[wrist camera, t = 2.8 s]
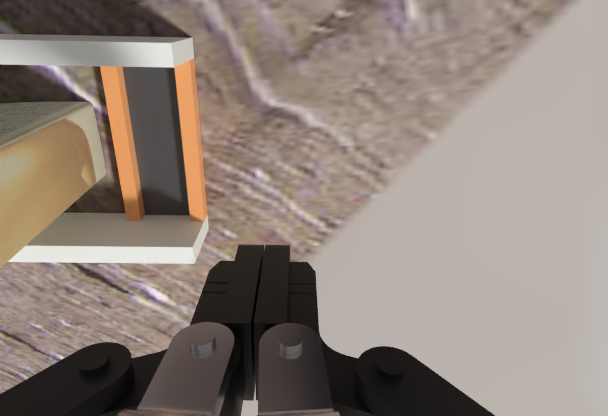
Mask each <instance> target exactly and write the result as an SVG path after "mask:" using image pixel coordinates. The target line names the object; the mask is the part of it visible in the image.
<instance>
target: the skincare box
mask: <svg viewBox="0 0 608 416" xmlns="http://www.w3.org/2000/svg"><path fill="white" fill-rule="evenodd" d="M105 175H106V168H105V163H104V157H103V151H102V146H101V141H100V136H99V131H98V127H97V122H96V118H95V113H94V109H93V106H92V104H91V103H89V102H16V103H0V268H1V267H2V266H3V265H4V264H6V263H7V262H8V261H9V260H10V259H11V258H12V257H14V256H15V255H16V254H17V253H18V252H19V251H20V250H21V249H22V248H23V247H25V246H26V245H27V244H28V243H29V242H30V241H31V240H32V239H34V238H35V237H36V236H37V235H38V234H39V233H40V232H42V231H43V230H44V229H45V228H46V227H47V226H48V225H50V224H51V223H52V222H53V221H54V220H55V219H56V218H57V217H58V216H60V215H61V214H62V213H63V212H64V211H65V210H66V209H68V208H69V207H70V206H71V205H72V204H73V203H74V202H75V201H76V200H78V199H79V198H80V197H81V196H82V195H83V194H84V193H86V192H87V191H88V190H89V189H90V188H91V187H92V186H93V185H95V184H96V183H97V182H98V181H99V180H100V179H101V178H103V177H104V176H105Z"/></svg>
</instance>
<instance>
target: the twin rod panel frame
mask: <svg viewBox="0 0 608 416" xmlns="http://www.w3.org/2000/svg"><path fill="white" fill-rule="evenodd" d="M0 64H2V65H58V66H100V69H101V75H102V80H103V86H104V92H105V98H106V103H107V109H108V115H109V121H110V126H111V132H112V138H113V144H114V149H115V155H116V161H117V166H118V172H119V178H120V184H121V189H122V195H123V201H124V207H125V212H126V213H62V214H61V215H60V216H58V217H57V218H56V219H55V220H54V221H53V222H52V223H51V224H50V225H48V226H47V227H46V228H45V229H44V230H43V231H42V232H40V233H39V234H38V235H37V236H36V237H35V238H34V239H32V240H31V241H30V242H29V243H28V244H27V245H26V246H25V247H23V248H22V249H21V250H20V251H19V252H18V253H17V254H16V255H15V256H14V257H12V258H11V259H10V260H9V261H8V262H76V263H187V264H194V263H195V261H196V258H197V256H198V254H199V251H200V249H201V246H202V244H203V241H204V239H205V236H206V234H207V232H208V229H209V227H208V215H207V203H206V191H205V180H204V168H203V156H202V144H201V133H200V121H199V109H198V97H197V86H196V74H195V62H194V50H193V38H191V37H140V36H88V35H36V34H0Z"/></svg>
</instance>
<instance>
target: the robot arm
mask: <svg viewBox="0 0 608 416" xmlns="http://www.w3.org/2000/svg"><path fill="white" fill-rule="evenodd" d="M255 383H256V400H258V416H495V415H493V414H492V413H491V412H489V411H488V410H486V409H485V408H484V407H482V406H481V405H479V404H478V403H477V402H475V401H474V400H473V399H471V398H470V397H468V396H467V395H466V394H464V393H463V392H461V391H460V390H459V389H457V388H456V387H454V386H453V385H452V384H450V383H449V382H447V381H446V380H445V379H443V378H442V377H441V376H439V375H438V374H436V373H435V372H434V371H432V370H431V369H430V368H428V367H427V366H425V365H424V364H423V363H421V362H420V361H418V360H417V359H416V358H414V357H413V356H411V355H410V354H408V353H407V352H405V351H403V350H400V349H397V348H393V347H385V346H383V347H375V348H371V349H369V350H367V351H365V352H364V353H362V354H361V356H360V357H359V358H354V357H350V356H346V355H343V354H340V353H338V352H336V351H334V350H332V349H331V348H330V347H328V346H327V345H326V344H325V343H324V342H323V340H322V339H321V337H320V334H319V326H318V308H317V291H316V275H315V271H314V270H313V268H312V267H311V266H310V265H309V263H308V262H290V245H266V246H265V251H264V245H239V246H238V249H237V253H236V257H235V261H220V262H219V263H217V264H216V265H215V266H214V267H213V268H212V269H211V270H210V271H209V273H208V276H207V279H206V282H205V285H204V288H203V290H202V294H201V296H200V299H199V302H198V304H197V307H196V310H195V313H194V316H193V318H192V321H191V324H190V326H188V327H186V328H184V329H182V330H181V331H180V332H178V333H177V334H176V335H175V336H174V338H173V339H172V341H171V343H170V345H169V347H168V349H166V350H163V351H161V352H157V353H154V354H149V355H145V356H140V357H136V358H131V353H130V351H129V350H128V349H127V348H126V347H125V346H123V345H121V344H118V343H112V342H105V343H98V344H94V345H90V346H87V347H85V348H83V349H81V350H79V351H77V352H75V353H73V354H71V355H70V356H68V357H66V358H64V359H62V360H61V361H59V362H57V363H55V364H53V365H52V366H50V367H48V368H46V369H45V370H43V371H41V372H39V373H37V374H36V375H34V376H32V377H30V378H28V379H27V380H25V381H23V382H21V383H19V384H18V385H16V386H14V387H12V388H11V389H9V390H7V391H5V392H3V393H2V394H0V416H241V410H242V403H243V400H253V399H254V391H255Z"/></svg>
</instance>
